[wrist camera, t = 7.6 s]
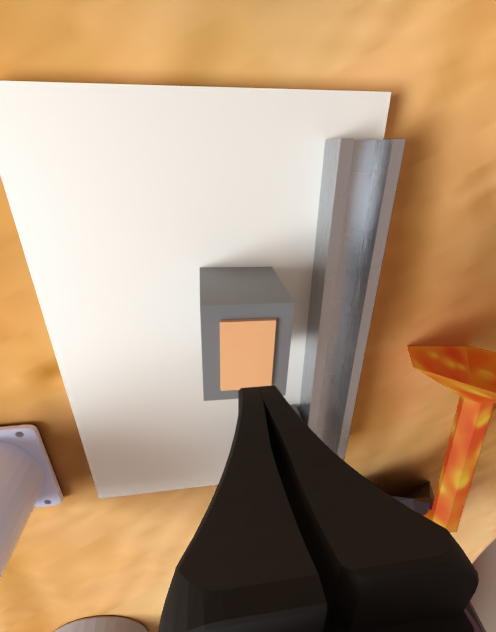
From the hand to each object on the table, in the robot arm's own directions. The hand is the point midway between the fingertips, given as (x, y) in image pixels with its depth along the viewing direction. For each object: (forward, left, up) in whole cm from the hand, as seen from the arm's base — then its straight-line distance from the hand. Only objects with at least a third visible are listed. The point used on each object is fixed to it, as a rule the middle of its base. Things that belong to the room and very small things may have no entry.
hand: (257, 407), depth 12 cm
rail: (+6, -2, -8) cm, 10 cm away
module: (0, 0, -8) cm, 8 cm away
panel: (-2, -2, -9) cm, 10 cm away
